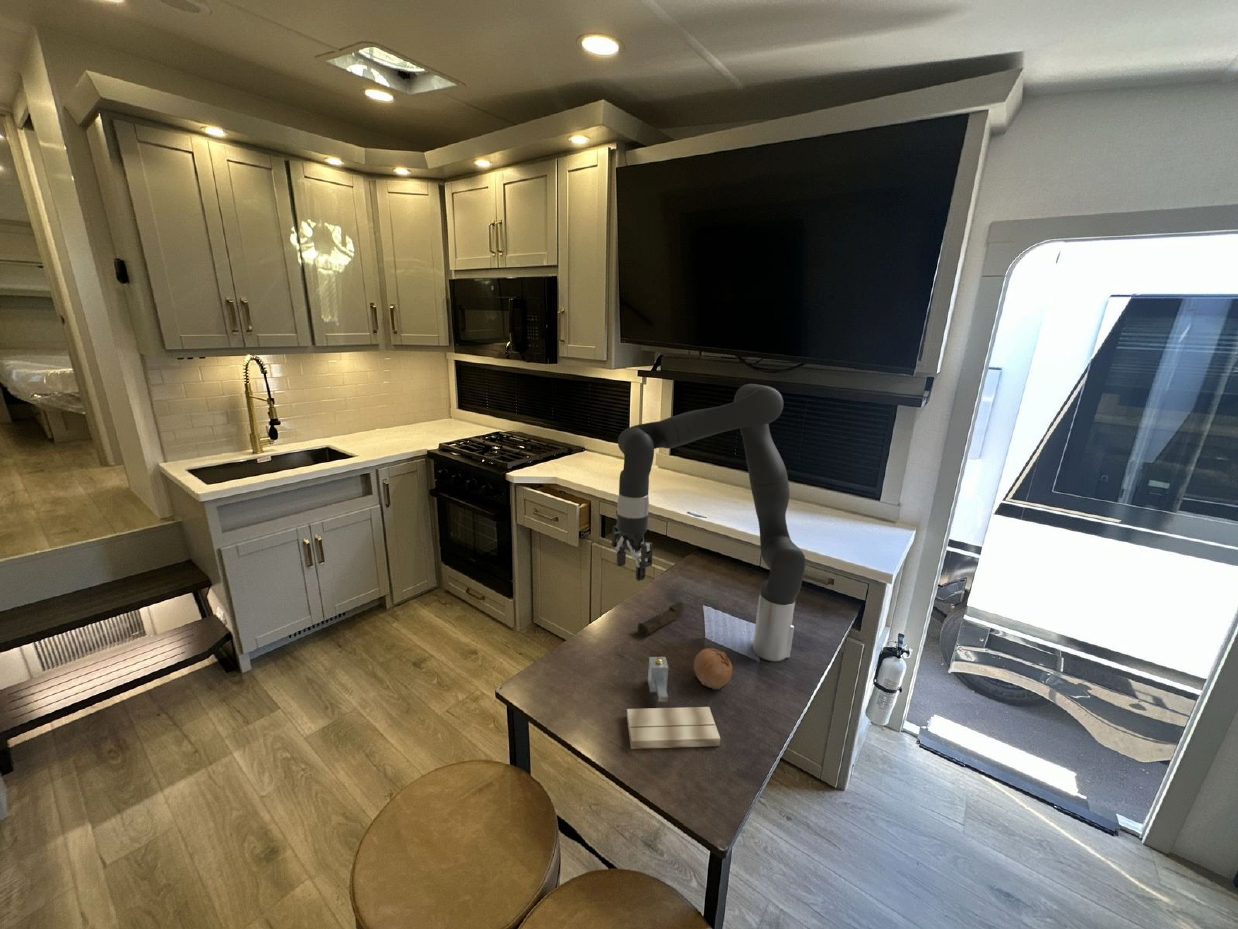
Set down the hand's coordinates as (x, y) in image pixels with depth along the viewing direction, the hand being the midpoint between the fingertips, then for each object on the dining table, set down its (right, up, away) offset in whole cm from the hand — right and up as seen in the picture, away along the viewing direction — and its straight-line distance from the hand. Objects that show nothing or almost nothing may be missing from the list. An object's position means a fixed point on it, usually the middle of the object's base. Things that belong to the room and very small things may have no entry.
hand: (630, 572), depth 122 cm
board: (+9, -32, -14) cm, 36 cm away
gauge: (+7, -29, -3) cm, 30 cm away
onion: (+20, -28, +2) cm, 35 cm away
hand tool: (+10, -22, +26) cm, 35 cm away
